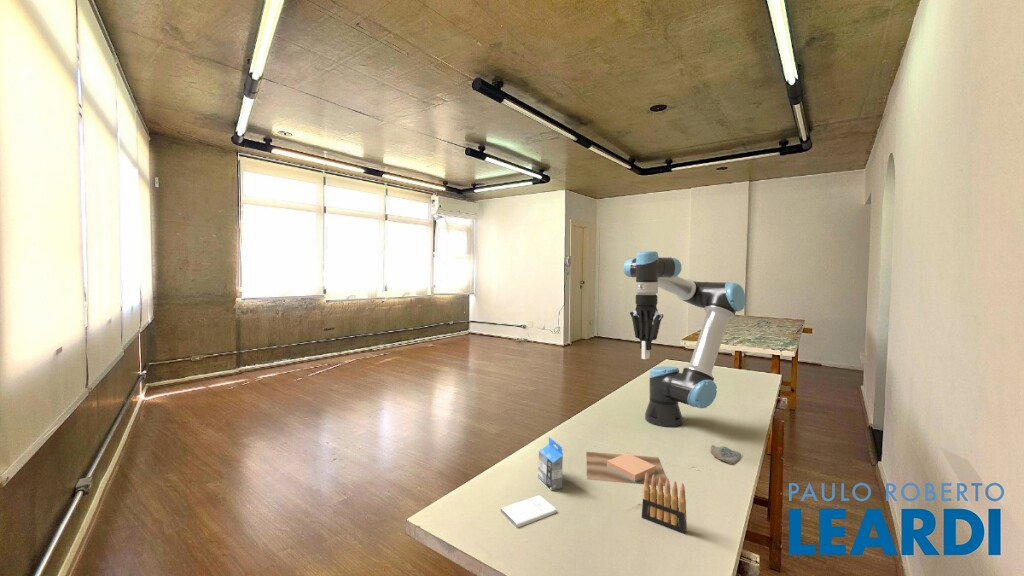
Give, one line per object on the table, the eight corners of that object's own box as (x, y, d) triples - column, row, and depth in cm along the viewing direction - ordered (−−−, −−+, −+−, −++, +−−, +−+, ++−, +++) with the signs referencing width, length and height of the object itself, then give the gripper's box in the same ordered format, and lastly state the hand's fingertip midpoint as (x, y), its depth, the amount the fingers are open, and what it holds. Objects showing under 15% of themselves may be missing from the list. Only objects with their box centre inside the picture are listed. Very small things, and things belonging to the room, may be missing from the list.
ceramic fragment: (713, 443, 147) (743, 448, 140) (714, 452, 147) (744, 457, 139) (701, 451, 140) (732, 457, 132) (702, 461, 139) (733, 467, 132)
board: (586, 454, 140) (586, 451, 140) (658, 460, 136) (658, 457, 136) (586, 482, 122) (586, 479, 122) (670, 490, 117) (670, 486, 117)
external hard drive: (500, 513, 107) (538, 499, 113) (516, 530, 100) (556, 514, 106) (500, 507, 107) (538, 494, 113) (516, 524, 100) (556, 508, 106)
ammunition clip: (641, 517, 104) (642, 472, 104) (643, 514, 106) (644, 469, 105) (684, 534, 98) (685, 486, 97) (686, 530, 99) (687, 482, 99)
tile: (606, 460, 129) (635, 474, 120) (627, 452, 135) (655, 465, 126) (606, 467, 129) (634, 482, 120) (627, 459, 135) (655, 472, 126)
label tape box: (537, 477, 125) (537, 438, 124) (548, 474, 126) (549, 436, 126) (551, 491, 117) (551, 449, 116) (563, 488, 118) (563, 447, 118)
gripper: (625, 293, 149) (624, 356, 149) (655, 295, 138) (654, 363, 139) (638, 292, 153) (637, 354, 154) (668, 294, 142) (667, 360, 143)
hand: (645, 358), depth 146 cm, fingers closed
